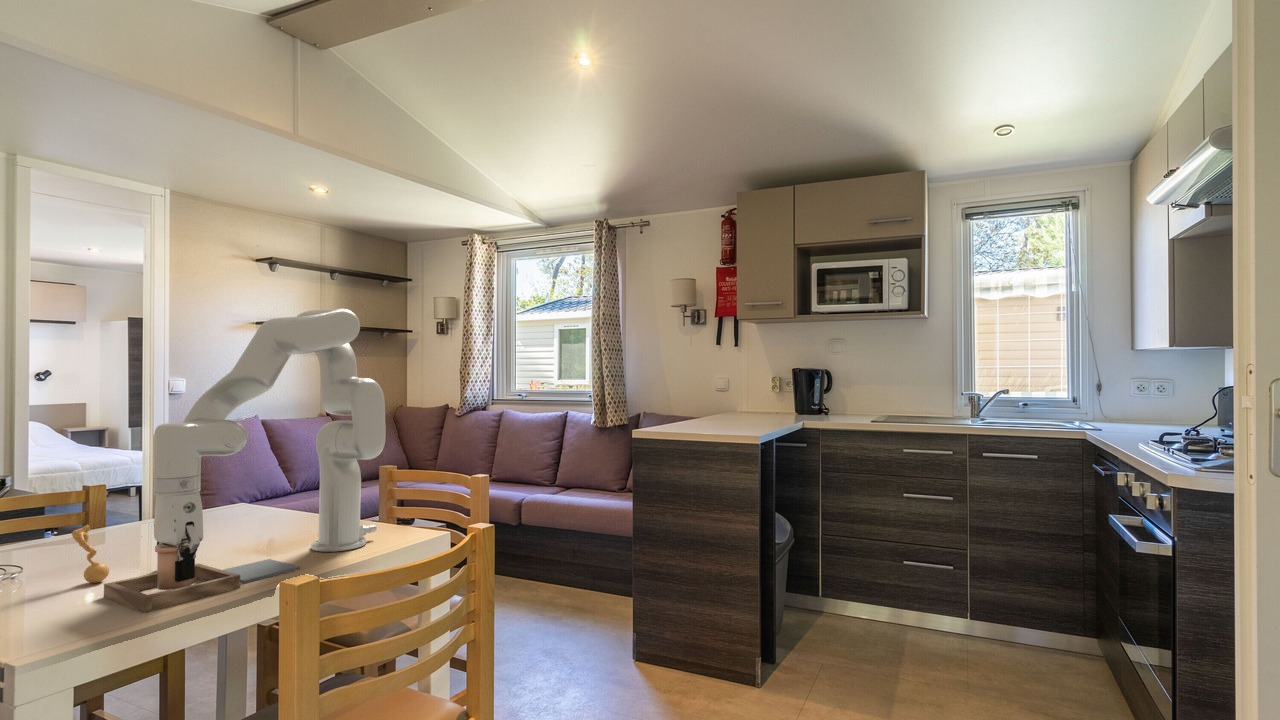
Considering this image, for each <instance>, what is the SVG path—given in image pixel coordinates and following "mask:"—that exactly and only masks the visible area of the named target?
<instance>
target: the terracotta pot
mask: <svg viewBox="0 0 1280 720" xmlns="http://www.w3.org/2000/svg"><path fill="white" fill-rule="evenodd" d="M181 542H182V543H181V544H183V543H188V540H185V541H181ZM187 547H188V546H185V547H182V552H183V551H184V549H185V548H187ZM154 552H156V554H157V559H156V561H157V563H156V565H157V566H156V567H157V569H156V573H157V587H156V589H157V590H160V591H169V590H173V589H177V588H181V587H186V586H190V585H194V584H196V583H195V581H196V578H195V577H194V578H193V579H189V580H185V581H181V582H176V581H175V561H178V559H177V554H176V552H177V548H176V547H175V546H172V545H168V544H164V543H162V544H158V545H157V544H156V545H155V546H154ZM157 552H158V553H157Z"/></svg>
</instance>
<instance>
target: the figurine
mask: <svg viewBox="0 0 1280 720" xmlns="http://www.w3.org/2000/svg"><path fill="white" fill-rule="evenodd" d="M90 531H91V528H90V525H88V524H86V525H84V526H83V527H81V528H77V529H75V530H73V531H72V532H71V537H72V539H73V540H74V541H75V542H76V543H78V545H79V546H80V547H81V548H82V549H84V551H86V552H87V553H88V554H86V559H87V561H88V562H89V564H90V565H89V566H87V567H86V568H85V570H84V572H83V578H84V580H85V581H86V582H88V583H89V584H98V583H101V582H104V580H105V579H107V578H108V576H109V573H110V569H109V566H108V565H107V564H105V563H102V562H98V561H94V560H93V559H92V558H94V557H95V555H96V554H97V552H98V551H97V550H96V549H95V548H94V547H93V546H92V545H90V544H89V537H90V535H89V532H90Z"/></svg>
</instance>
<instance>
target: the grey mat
mask: <svg viewBox="0 0 1280 720" xmlns="http://www.w3.org/2000/svg"><path fill="white" fill-rule="evenodd" d="M300 569H301V566H299V565H296V564H291V563H287V562H283V561H280V560H275V559H271V558H268V559H262V560H259V561H255V562H251V563H247V564H246V563H245V564H242V565H237V566H232V567H228V568H224V569H222V570H224V571H228V572H231V573H235V574H239V575H240V584H247V583H251V582H254V581H259V580H263V579H267V578H270V577H275V576H278V575H282V574H283V575H284V574H286V573H290V572H294V571H298V570H300Z"/></svg>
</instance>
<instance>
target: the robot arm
mask: <svg viewBox="0 0 1280 720" xmlns="http://www.w3.org/2000/svg"><path fill="white" fill-rule="evenodd" d="M360 330H361V324H360V320H359V318H358V316H357V315H356V313H354V311H353V312H352V311H351V310H349V309H347V308H329V309H328V308H327V309H312V310H306V311H303V312H301V313H299V314H298V315H297V316H287V317H285V316H284V317H276V318H275V317H274V318H269V319H267V320H265V321H264V322H263V323H262V324H261V325H260V326H259V327H258V329H257V330H256V332H255V334H254V336H253V337H252V338H251V340H250V341H249V343H248V344H247V347H246V348H245V349H244V351H243V352H242V354H241V355H240V357H239V359H238V360H237V362H236V364H235V365H234V366H233V368H232V369H231V370H230V372H229V373H227V374H225V376H223V377H222V378H221V379H219V380H218V381H217V382H216V383H215V384H213V385H212V386H211V387H210V388H209V389H207V390H206V391H205V392H204V393H203V394H202V395H201V396H200V397H199V398H198V399H197V400H196V402H195V403H194V404H193V406H192V407H191V408H190V410H189V412H188V413H187V415H186V416H185V418H184V420H183V422H168V423H161V424H159V425H158V426H157V427H156V428H155V430H154V438H153V439H154V443H153V445H154V447H153V449H154V450H153V451H154V452H153V454H154V455H153V496H155V503H154V504H155V505H154V516H153V517H154V518H153V536H154V537H153V538H154V539H155V541H156V545H158V544H162V543H164V544H168V545H172V546H175V547H176V548H177V552H176V554H177V559H178V561H175V581H176V582H181V581H185V580H189V579H193V578H194V577H195V564H196V558H197V551H198V549H199V547H200V545H201V542H202V541H203V540H204V516H203V515H204V514H203V503H202V498H201V497H202V496H201V484H202V483H201V477H202V475H201V473H202V472H201V470H202V468H201V467H202V466H201V465H202V457H226V456H232V455H235V454H236V453H238V452H240V451H241V450H243V448H245V446H246V444H247V442H248V438H249V436H248V435H249V434H248V431H247V429H246V428H245V427H244V425H242V424H241V423H240V422H238V421H235V420H232V419H231V420H230V419H227V418H228V417H229V415H230V414H231V413H232V412H234V410H235V409H237V408H238V407H240V406H242V405H243V404H245V403H246V402H248V401H251V400H252V399H255V398H258V397H259V396H261V395H263V394H265V393H266V392H269V390H271V389H272V387H274V385H275V383H276V381H277V380H278V378H279V376H280V375H281V373H282V371H283V369H284V368H285V366H286V364H287V362H288V361H289V359H290V357H292V355H303V354H311V353H314V354H315V355H316V357H317V359H318V363H319V371H320V373H319V376H320V377H319V378H320V399H321V400H320V401H321V406H322V408H323V410H324V412H326V413H328V414H330V415H335V416H348V417H350V416H351V418H352V419H351V420H342V419H340V420H333V421H329V422H327V423H325V424H323V426H321V427H320V429H319V430H318V432H317V434H316V438H315V446H316V452H317V453H316V454H317V456H318V465H319V488H318V489H319V492H318V494H319V498H318V499H319V502H318V509H319V510H318V538H317V539H318V540H315V541H313V542H311V544H310V548H311V550H313V551H316V552H320V553H321V552H325V553H329V552H335V553H336V552H343V551H349V550H350V551H351V550H354V549H355V550H356V549H358V548H361V547H363V546H365V545H366V544H367V538H366V537H364V536H365V535H367V534H371V533H375V532H377V525H376V524H370V525H367V526H366V525H365V524H361V498H362V497H361V489H362V488H361V487H362V475H361V474H362V473H361V467H360V465H359V462H358V460H362V461H363V460H366V461H367V460H368V461H369V460H372V459H375V458H377V457H378V456H379V455H381V453H382V452H383V450H384V447H385V444H386V436H387V435H386V434H387V433H386V431H387V430H386V429H387V428H386V403H385V394H384V391H383V389H382V387H381V386H380V384H379V383H378V382H377V381H376V380H373V379H372V378H368V377H359V376H358V367H357V357H356V355H355V352H354V350H353V348H352V346H351V344H350V343H351V342H353V341H354V340H355V339H356V338H357V337H358V335H359V333H360ZM185 540H188V543H183V544H181V543H182V542H181V541H185ZM185 546H188V547H187V548H185V549H184V551H183V552H182V547H185ZM157 553H158V552H156V554H157Z"/></svg>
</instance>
